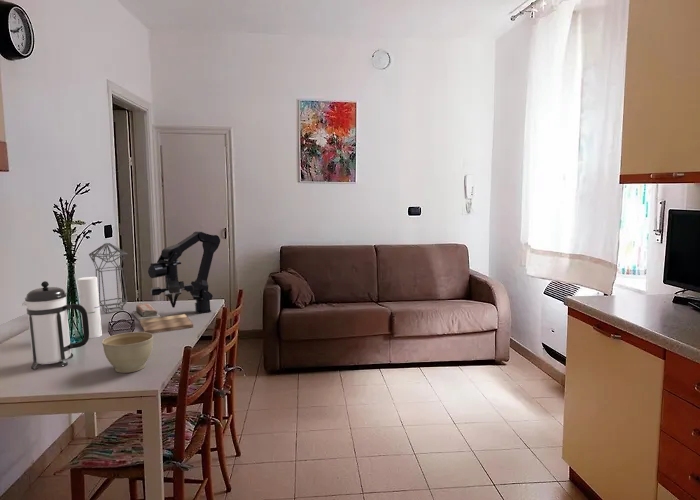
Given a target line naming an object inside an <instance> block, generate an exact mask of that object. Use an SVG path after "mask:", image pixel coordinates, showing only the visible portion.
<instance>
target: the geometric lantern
mask: <svg viewBox="0 0 700 500" xmlns="http://www.w3.org/2000/svg"><path fill="white" fill-rule="evenodd" d="M110 247H111V248H112V249H113V250H114V251H111V248H110ZM117 253H119V254H117ZM126 255H128V253H127V252H126V251H124V250H123V249H121V248H119V247H117V246H116V245H113V243H110V242H105V243H103V244H102V245H100V246H98V248H96V249H95V250H93V251H91V252H90V253H88V256H89V257H90V259H91V261H92V263H93V265H94V268H95V277H97V278H98V294H99V306H100V307H101V310H102V311H103V312H104V313H106V314H112V313H118V312H117V311H118V310H115V311H110V310H112V309H120V310H123V311H124V306H125V305H127V304H126V303H128V298H127V290H126V284H125V278H124V268H123V267H122V262H123V260H124V259H125V258H126V257H125V256H126ZM114 257H116V258H114ZM96 258H98V259H99V260H101V263H100V265H98V264H97V262H96ZM111 258H112V260H111ZM119 258H120V262H119V265H118V264H117V262H116V260H118V259H119ZM103 262H105V263H104V265H103V266H102V264H103ZM108 263H111V264H112V265H113V266H108V267H105V266H106V264H108ZM112 268H115V277H116V278H115V279H116V289H117V292H116V293H117V294H116V295H117V298H110V299H106V297H105V288H104V287H105V286H104V278H103V272H110V271H112V272H113V271H114V269H112ZM105 269H107V270H105ZM121 275H122V277H121ZM118 277H119V279H118ZM118 280H119V281H118ZM118 282H119V283H118ZM122 282H123V283H122ZM101 284H102V294H103V300H101ZM119 284H120V289H121V297H119ZM124 296H125V297H124ZM114 300H117V301H116V302H115V303H108V304H106V302H109V301H114ZM119 300H121V301H120V302H119ZM102 302H103V303H102ZM111 306H115V307H111Z"/></svg>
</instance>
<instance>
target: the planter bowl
mask: <svg viewBox="0 0 700 500" xmlns="http://www.w3.org/2000/svg"><path fill="white" fill-rule="evenodd" d="M101 344H102V346H103V352H104V355H105V357H106V359H107V361H108V362H109V363H110V365H111V366H112V367H113V368H114V372H117V373H125V374H126V373H134V372H138V371H140V370H143V369H144V368H145V367H146V363H147V362H148V360H149V358H150V356H151V354H152V352H153V348H154V347H153V346H154V333H147V332H144V331H132V332H124V333H118V334H114V335H110V336H108V337H106V338H103V340H102V342H101Z"/></svg>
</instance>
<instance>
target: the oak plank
mask: <svg viewBox="0 0 700 500" xmlns="http://www.w3.org/2000/svg"><path fill="white" fill-rule="evenodd" d="M186 317H188V316H187V314H185V313H183V314H175V315H167V316H161V317H159V318H152V319H144V320H140V321H139V322H140V325H141V326H142V323H148V322H156V321H163V320H171V319H178V318H186Z"/></svg>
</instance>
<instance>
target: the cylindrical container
mask: <svg viewBox="0 0 700 500" xmlns="http://www.w3.org/2000/svg"><path fill="white" fill-rule="evenodd" d="M77 282H78V283H77V284H78V292H79V293H78V294H79V302H80V303H79V305H81V306H83V307H84V308H85V310H86V312H87V315H88V324H89V339H95V338H99V337H101V336H103V333H102V329H103V328H102V320H101V308H100V307H101V306H99V282H98V276H97V277H96V276H83V277H80V278H77ZM80 316H81V318H82V314H81V313H80ZM81 326H82V327H83V322H82V321H81Z"/></svg>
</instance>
